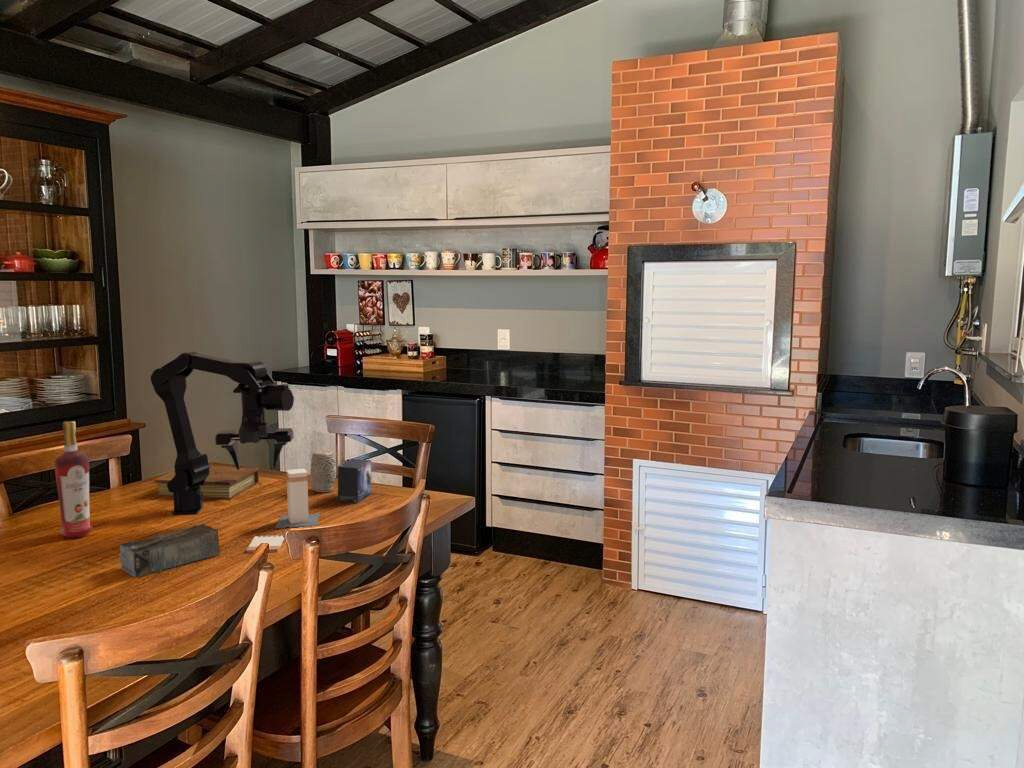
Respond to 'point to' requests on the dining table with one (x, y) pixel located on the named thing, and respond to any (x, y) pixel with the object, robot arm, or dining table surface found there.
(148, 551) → the grey piece
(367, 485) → the small box
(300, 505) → the beige tall block
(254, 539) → the cream block pink end
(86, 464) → the liquor
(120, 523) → the dining table surface
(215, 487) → the diary
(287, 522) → the mat
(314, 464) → the carving
